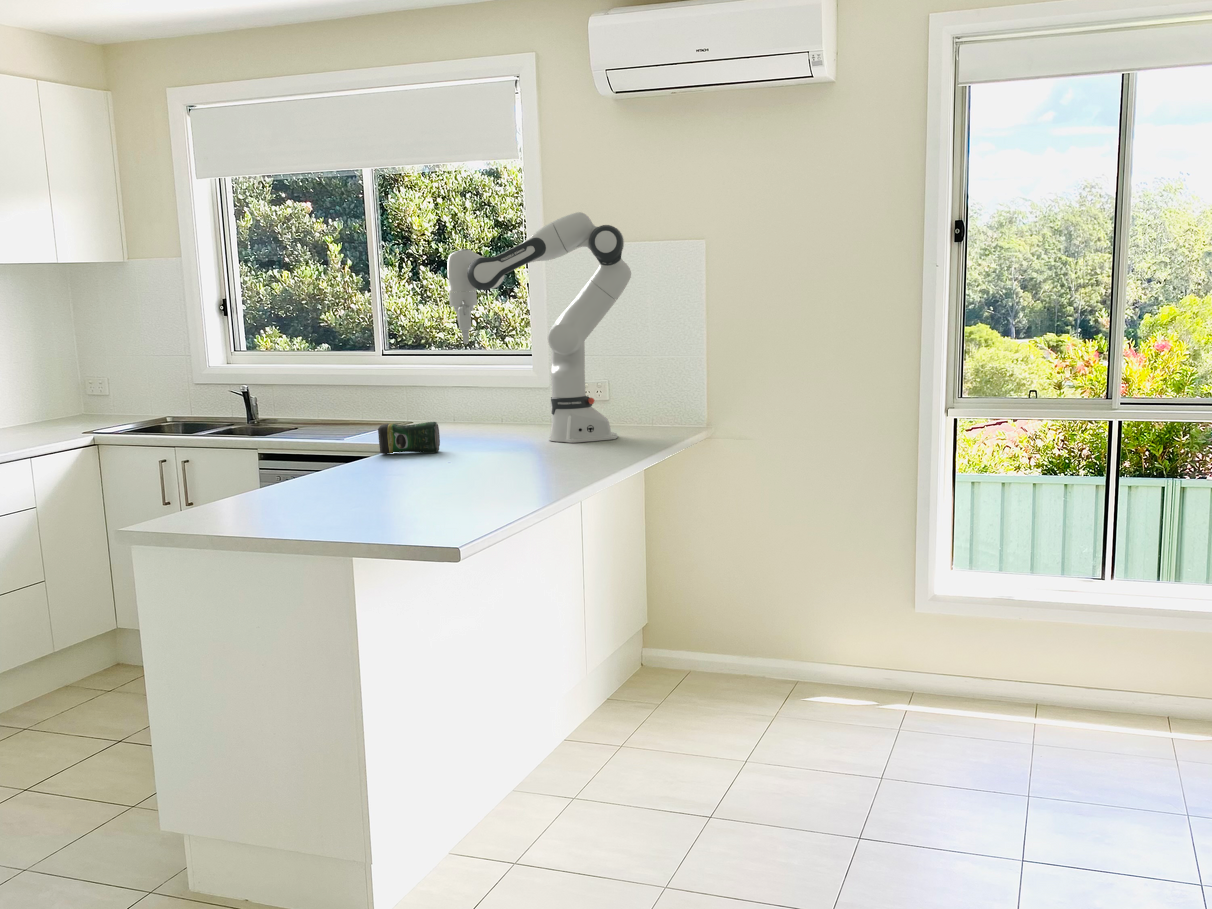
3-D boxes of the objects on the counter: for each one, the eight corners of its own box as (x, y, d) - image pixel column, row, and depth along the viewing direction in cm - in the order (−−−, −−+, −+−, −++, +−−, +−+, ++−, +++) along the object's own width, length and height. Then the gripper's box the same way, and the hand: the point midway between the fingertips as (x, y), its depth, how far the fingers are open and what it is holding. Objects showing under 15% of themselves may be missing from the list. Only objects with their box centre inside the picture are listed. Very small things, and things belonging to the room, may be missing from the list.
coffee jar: (439, 419, 344) (380, 421, 344) (435, 425, 336) (375, 426, 337) (441, 449, 347) (382, 451, 347) (437, 455, 339) (377, 457, 339)
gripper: (473, 300, 345) (476, 344, 347) (472, 300, 365) (475, 341, 367) (453, 301, 344) (456, 345, 346) (453, 301, 364) (456, 342, 366)
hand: (466, 343), depth 356 cm, fingers closed
